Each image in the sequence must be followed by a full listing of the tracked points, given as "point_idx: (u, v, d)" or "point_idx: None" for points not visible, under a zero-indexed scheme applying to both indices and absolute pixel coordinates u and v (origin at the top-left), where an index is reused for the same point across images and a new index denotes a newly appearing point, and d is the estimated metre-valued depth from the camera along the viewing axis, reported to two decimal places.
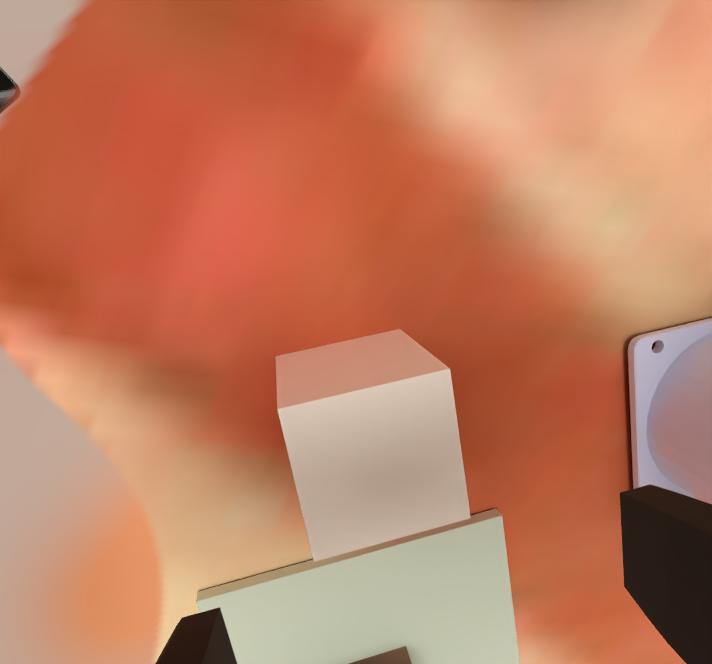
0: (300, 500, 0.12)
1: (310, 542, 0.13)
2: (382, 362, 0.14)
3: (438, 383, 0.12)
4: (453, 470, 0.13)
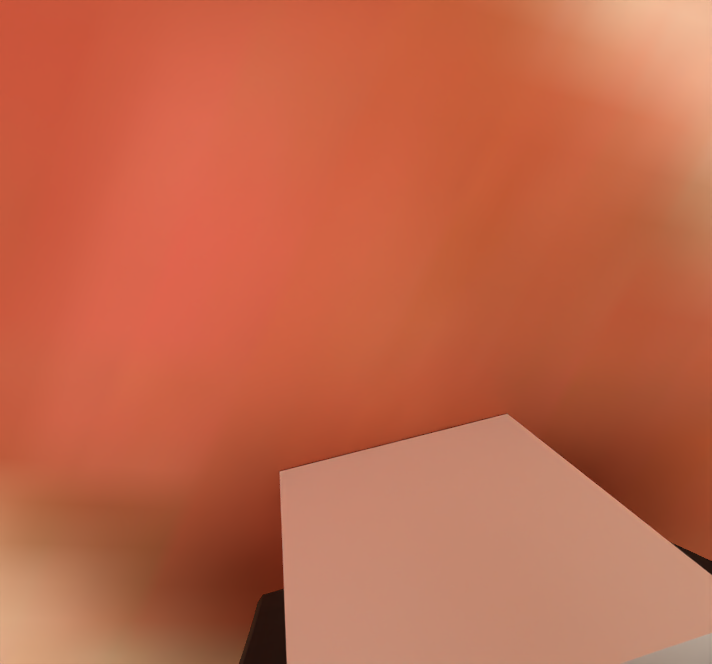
0: None
1: None
2: (531, 544, 0.06)
3: None
4: None
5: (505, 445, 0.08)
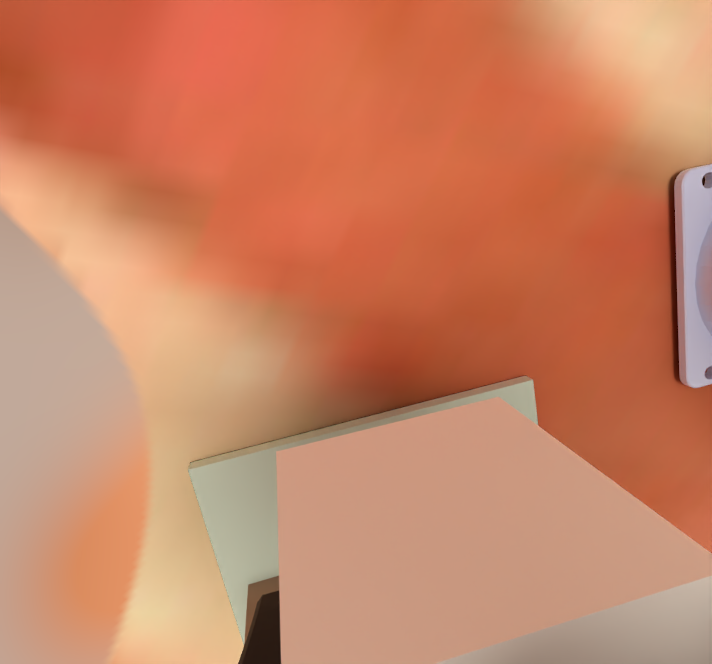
0: None
1: None
2: (516, 510, 0.06)
3: (699, 605, 0.05)
4: None
5: (495, 424, 0.08)
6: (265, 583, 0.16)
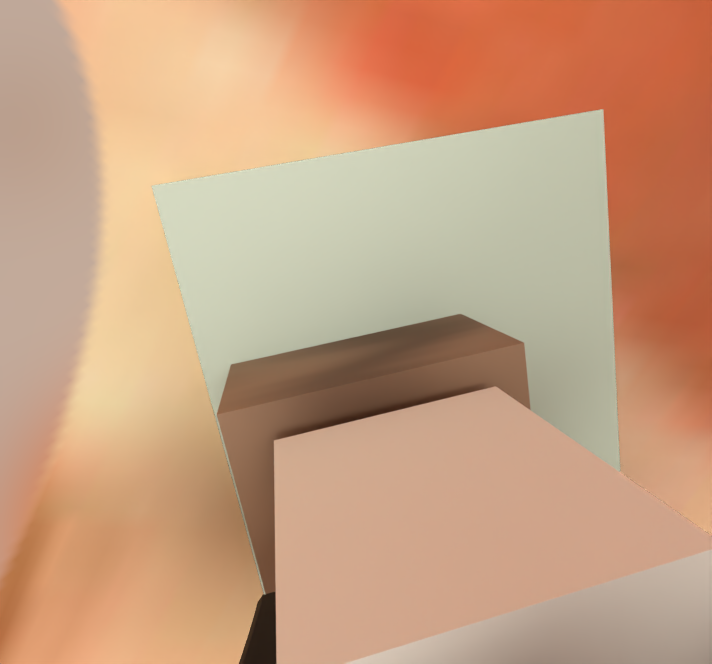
0: None
1: None
2: (511, 493, 0.06)
3: (693, 582, 0.05)
4: None
5: (492, 412, 0.08)
6: (253, 361, 0.13)
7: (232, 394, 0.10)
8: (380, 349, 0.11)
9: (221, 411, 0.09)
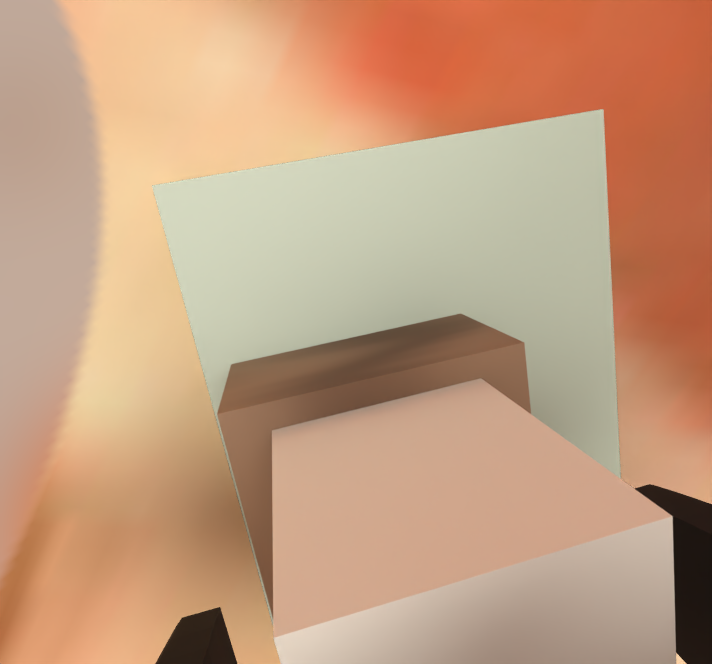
0: None
1: None
2: (489, 474, 0.07)
3: (643, 549, 0.05)
4: None
5: (476, 403, 0.09)
6: (253, 361, 0.13)
7: (232, 393, 0.10)
8: (381, 349, 0.11)
9: (221, 411, 0.09)
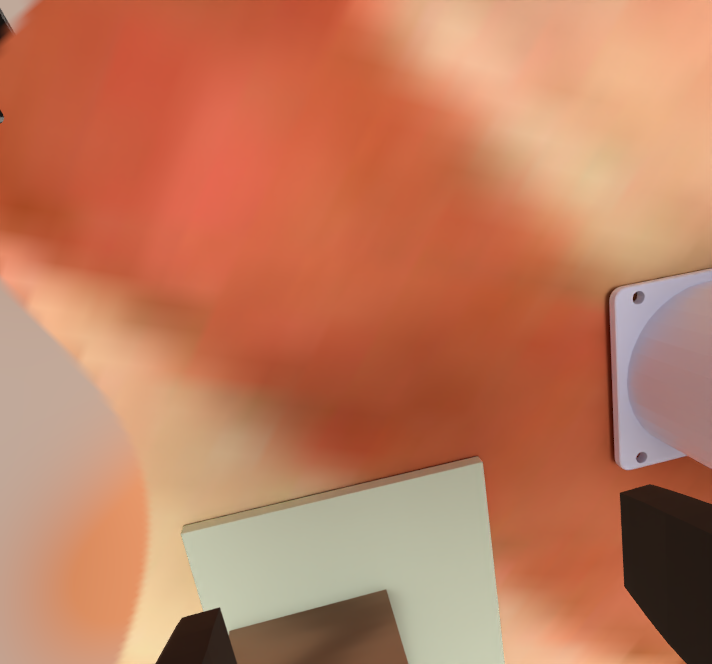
0: None
1: None
2: None
3: None
4: None
5: None
6: (244, 630, 0.19)
7: None
8: (325, 641, 0.18)
9: None
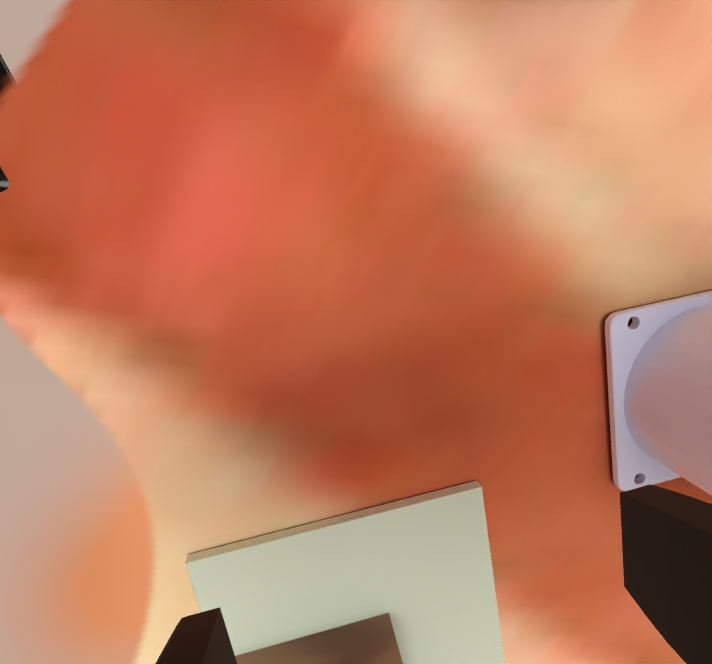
0: None
1: None
2: None
3: None
4: None
5: None
6: (249, 655, 0.19)
7: None
8: None
9: None
